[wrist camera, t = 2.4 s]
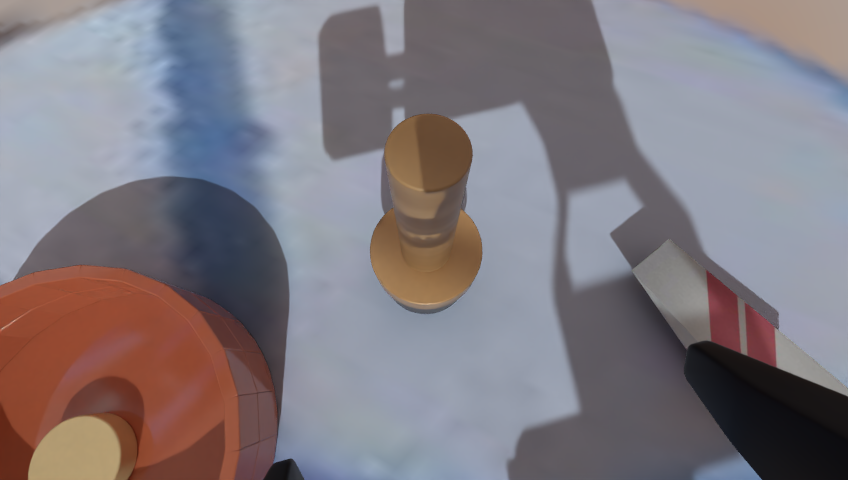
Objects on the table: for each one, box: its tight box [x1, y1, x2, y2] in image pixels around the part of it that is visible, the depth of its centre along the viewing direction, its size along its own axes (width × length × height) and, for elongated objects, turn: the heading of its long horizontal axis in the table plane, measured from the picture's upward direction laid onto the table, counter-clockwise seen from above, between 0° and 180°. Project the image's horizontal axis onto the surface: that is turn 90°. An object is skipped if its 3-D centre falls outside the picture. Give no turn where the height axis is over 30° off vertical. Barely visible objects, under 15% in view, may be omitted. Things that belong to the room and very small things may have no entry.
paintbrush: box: [632, 239, 848, 396], centre depth 19 cm, size 4×3×20 cm
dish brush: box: [370, 114, 482, 314], centre depth 16 cm, size 5×5×13 cm
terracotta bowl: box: [0, 265, 277, 480], centre depth 18 cm, size 15×15×4 cm
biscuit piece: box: [28, 413, 137, 480], centre depth 19 cm, size 4×4×1 cm
